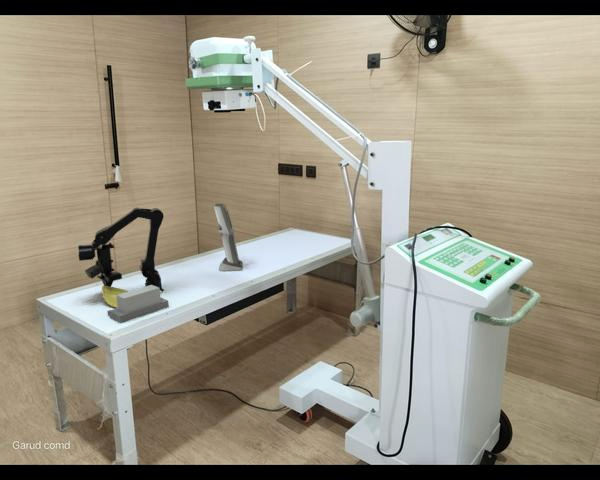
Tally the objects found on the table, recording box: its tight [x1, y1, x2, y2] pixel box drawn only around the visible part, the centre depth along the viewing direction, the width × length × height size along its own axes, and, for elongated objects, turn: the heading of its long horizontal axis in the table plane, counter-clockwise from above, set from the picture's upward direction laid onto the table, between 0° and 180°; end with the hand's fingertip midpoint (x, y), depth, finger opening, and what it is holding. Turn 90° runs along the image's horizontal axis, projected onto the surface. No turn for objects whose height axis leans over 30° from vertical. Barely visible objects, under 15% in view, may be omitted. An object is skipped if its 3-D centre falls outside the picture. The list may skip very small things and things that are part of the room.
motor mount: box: [106, 285, 170, 324], centre depth 200 cm, size 22×12×9 cm, turn 137°
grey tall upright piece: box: [213, 203, 244, 272], centre depth 255 cm, size 12×13×35 cm
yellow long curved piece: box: [101, 284, 129, 309], centre depth 211 cm, size 20×7×10 cm
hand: (108, 291), depth 218 cm, fingers closed
